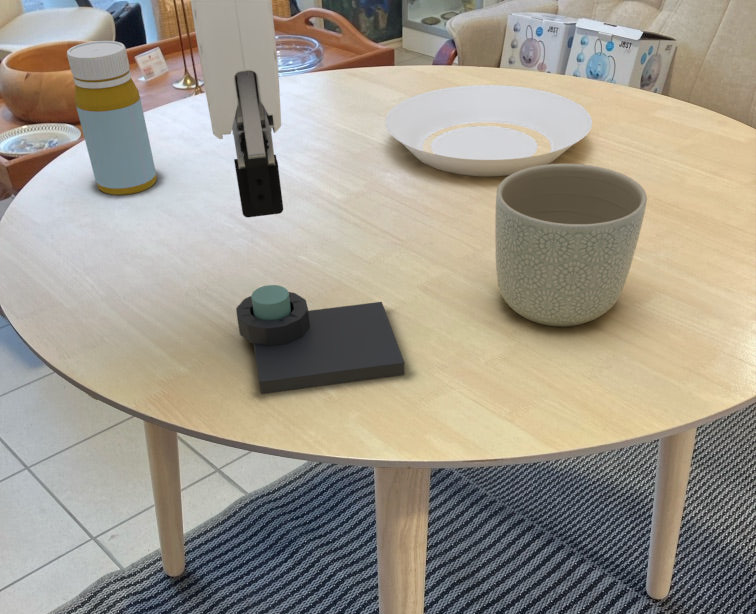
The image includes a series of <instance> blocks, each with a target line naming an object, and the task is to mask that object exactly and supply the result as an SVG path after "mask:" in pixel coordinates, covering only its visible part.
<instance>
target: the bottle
mask: <svg viewBox="0 0 756 614" xmlns="http://www.w3.org/2000/svg"><path fill="white" fill-rule="evenodd" d="M66 58H67V60H68V64H69V68H70V72H71V75H72V78H73V79H72V80H73V83H74V85H75V86H74V102H75V108H76V111H77V116H78V119H79V123H80V126H81V130H82V134H83V138H84V142H85V146H86V150H87V153H88V156H89V161H90V165H91V169H92V172H93V176H94V180H95V183H96V186H97V188H98V190H100V191H101V192H102V193H105V194H107V195H112V196H127V195H134V194H138V193H141V192H144V191H147V190H149V189H150V188H152V187H153V186H154V185H155V184H156V182H157V179H158V177H157V176H158V175H157V171H156V166H155V162H154V156H153V152H152V147H151V141H150V138H149V133H148V128H147V123H146V118H145V114H144V109H143V104H142V99H141V96H140V92H139V89H138V87H137V85H136V84H135V82H134V80H133V79H132V73H131V69H130V62H129V61H130V60H129V58H128V52H127V47H126V46H125V44H123V43H122V42H119V41H116V40H115V41H114V40H96V41H95V40H94V41H88V42H84V43H80V44H77V45H74V46H72V47H70V48H69V49H68V50H67V51H66Z"/></svg>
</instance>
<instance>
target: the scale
mask: <svg viewBox="0 0 756 614" xmlns="http://www.w3.org/2000/svg"><path fill="white" fill-rule="evenodd" d="M288 292H289V299H290V307H291V312H290V314H289V315H288V316H286V317H283V318H281V319H277V320H262V319H257V318H256V317H255V315H254V311H253V305H252V298H251V295H250V296H248V297H246V298H244V299H243V300H242V301H241V302H240V303H239V304H238V306H236V308H235V311H236V319H237V325H238V331H239V335H240V337H242V338H243V339H244V340H245V341H247V342H248V343H250V344H253V348H254V355H255V362H256V369H257V376H258V383H259V389H260V390H259V391H260V394H261V395H265V394H272V393H279V392H287V391H295V390H302V389H304V390H305V389H310V388H318V387H319V388H320V387H325V386H333V385H339V384H348V383H354V382H362V381H369V380H378V379H386V378H392V377H400V376H405V360H404V357H403V355H402V352H401V350H400V347H399V344H398V341H397V339H396V336H395V333H394V332H393V331H394V330H393V328H392V325H391V322H390V319H389V318H388V314H387V312H386V310H385V306H384V303H383V302H382V301H376V302H367V303H361V304H352V305H344V306H336V307H328V308H327V307H326V308H321V309H320V308H319V309H311V310H309V307H308V302H307V299H305V298H304V297H303V296H301V295H299V294H297V293H295V292H292V291H288Z"/></svg>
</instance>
